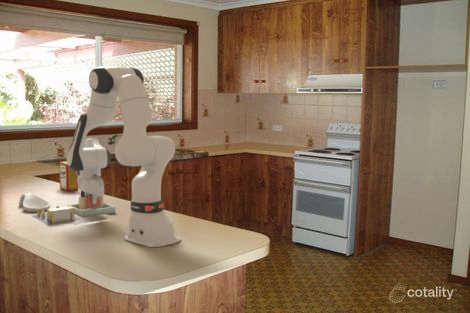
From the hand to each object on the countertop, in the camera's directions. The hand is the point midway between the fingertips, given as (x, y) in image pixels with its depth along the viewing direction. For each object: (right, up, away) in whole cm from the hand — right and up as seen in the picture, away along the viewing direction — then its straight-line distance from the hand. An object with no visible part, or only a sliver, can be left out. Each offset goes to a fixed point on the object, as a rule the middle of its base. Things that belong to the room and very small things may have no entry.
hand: (91, 202), depth 220 cm
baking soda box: (-29, +2, +53) cm, 60 cm away
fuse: (0, -2, 0) cm, 2 cm away
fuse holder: (-11, -6, -14) cm, 19 cm away
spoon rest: (-29, -4, +4) cm, 29 cm away
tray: (0, -5, +1) cm, 5 cm away
